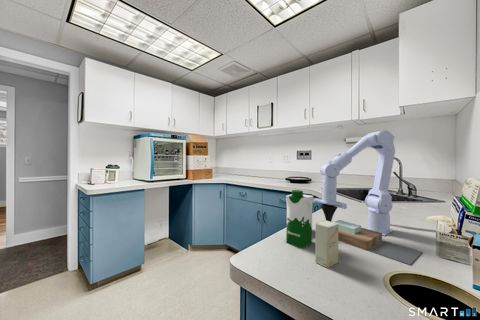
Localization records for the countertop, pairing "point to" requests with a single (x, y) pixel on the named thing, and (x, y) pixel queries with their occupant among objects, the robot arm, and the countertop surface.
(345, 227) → the mint green flat block
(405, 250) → the mat
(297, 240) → the milk carton
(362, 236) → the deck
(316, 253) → the skincare box
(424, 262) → the countertop surface
